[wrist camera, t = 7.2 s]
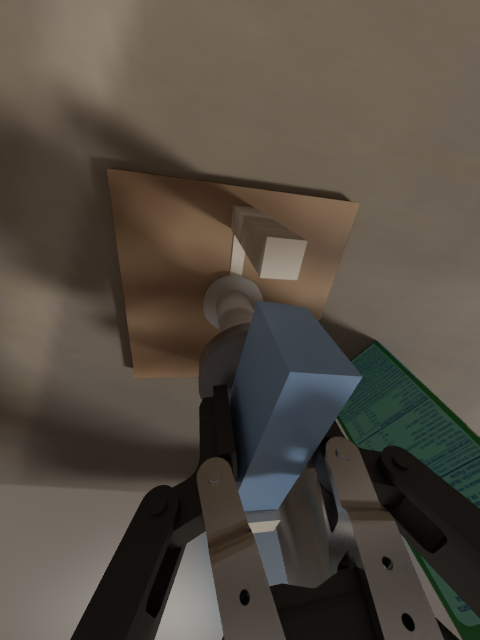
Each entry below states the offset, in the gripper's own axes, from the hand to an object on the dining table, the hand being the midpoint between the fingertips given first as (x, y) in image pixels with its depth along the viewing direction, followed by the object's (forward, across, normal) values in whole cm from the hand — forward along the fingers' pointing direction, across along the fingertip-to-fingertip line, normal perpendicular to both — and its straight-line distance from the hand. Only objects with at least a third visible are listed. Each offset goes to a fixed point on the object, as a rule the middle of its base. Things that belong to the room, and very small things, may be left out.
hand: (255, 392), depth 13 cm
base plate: (+11, 0, 0) cm, 11 cm away
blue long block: (+2, 0, 0) cm, 2 cm away
